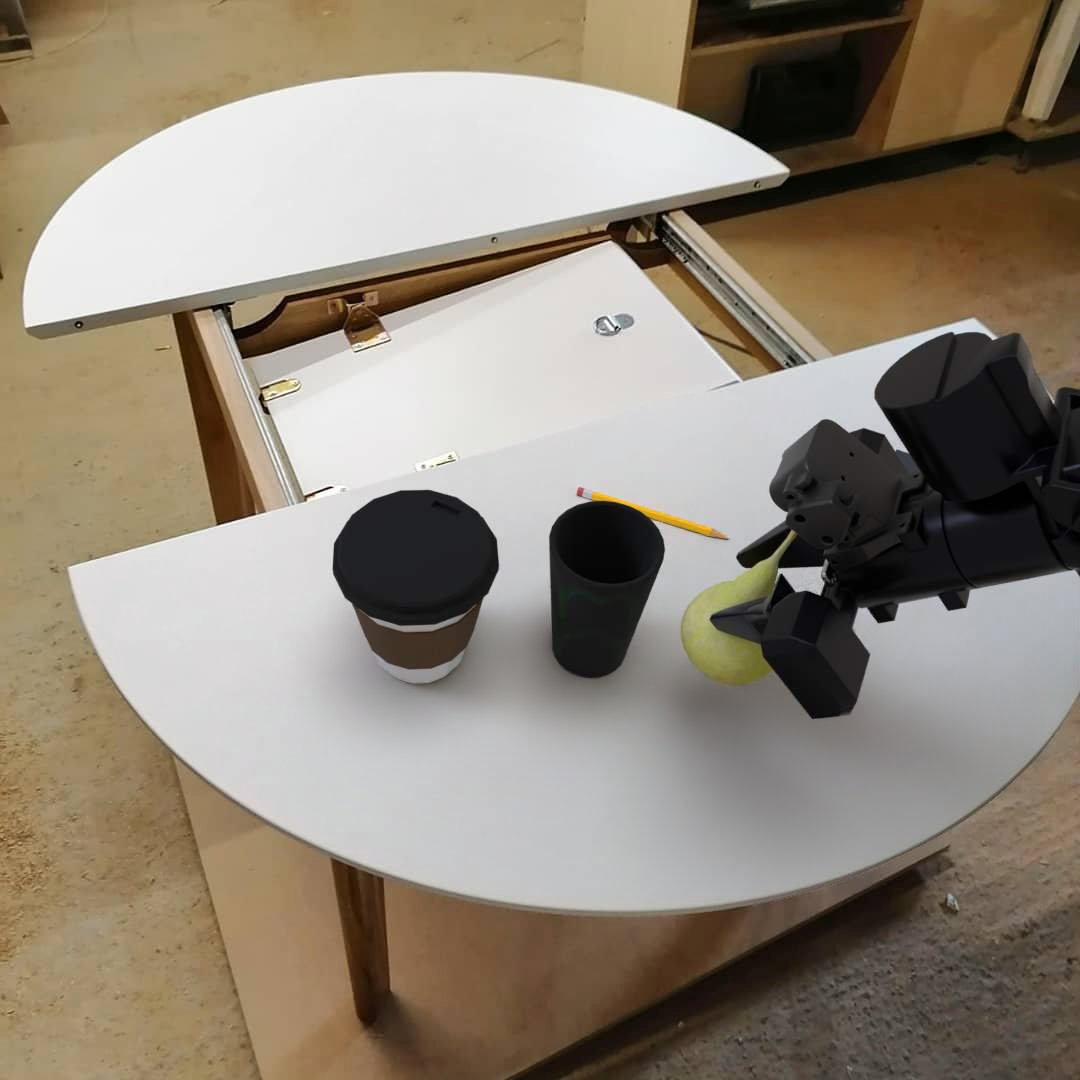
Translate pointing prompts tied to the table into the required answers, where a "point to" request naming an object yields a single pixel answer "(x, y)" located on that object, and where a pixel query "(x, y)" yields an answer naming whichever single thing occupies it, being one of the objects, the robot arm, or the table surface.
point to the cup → (600, 583)
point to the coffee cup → (416, 579)
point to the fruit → (721, 651)
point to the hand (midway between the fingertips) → (727, 590)
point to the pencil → (655, 514)
